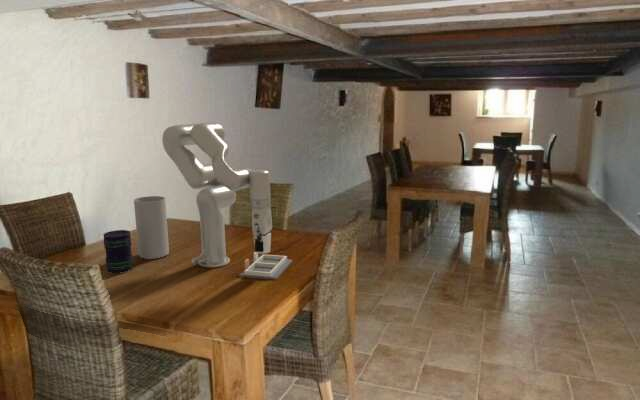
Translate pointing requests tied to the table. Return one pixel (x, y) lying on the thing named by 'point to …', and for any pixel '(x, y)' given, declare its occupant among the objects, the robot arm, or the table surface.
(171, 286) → the table surface
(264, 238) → the shot glass
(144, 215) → the cylinder vase
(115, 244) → the storage jar
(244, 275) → the well board
